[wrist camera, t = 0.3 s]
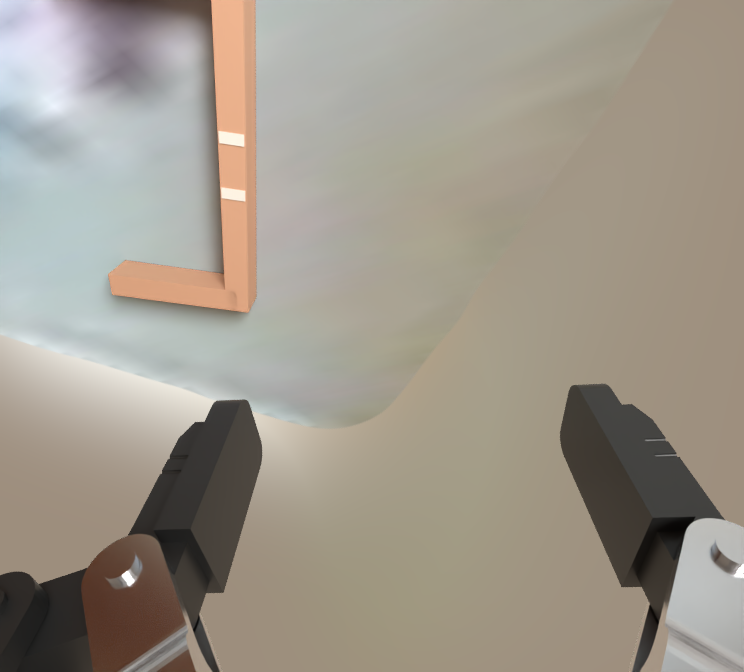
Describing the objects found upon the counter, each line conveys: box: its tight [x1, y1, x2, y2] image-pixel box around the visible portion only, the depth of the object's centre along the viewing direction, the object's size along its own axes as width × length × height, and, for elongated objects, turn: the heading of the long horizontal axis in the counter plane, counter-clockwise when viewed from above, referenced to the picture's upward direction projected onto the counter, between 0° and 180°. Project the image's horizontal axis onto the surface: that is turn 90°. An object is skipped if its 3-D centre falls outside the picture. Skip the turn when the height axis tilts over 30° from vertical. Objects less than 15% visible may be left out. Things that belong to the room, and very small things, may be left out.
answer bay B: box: [108, 0, 256, 313], centre depth 34 cm, size 12×25×3 cm, turn 172°
